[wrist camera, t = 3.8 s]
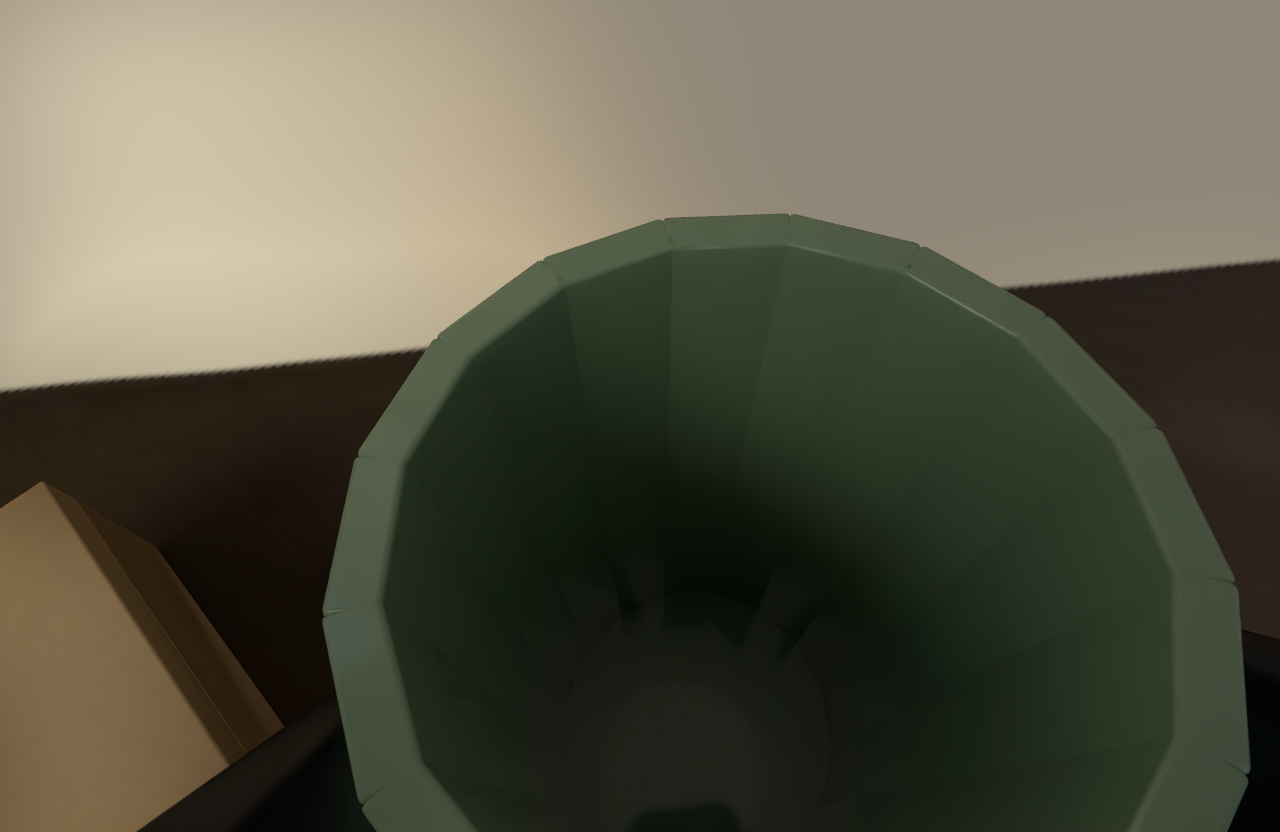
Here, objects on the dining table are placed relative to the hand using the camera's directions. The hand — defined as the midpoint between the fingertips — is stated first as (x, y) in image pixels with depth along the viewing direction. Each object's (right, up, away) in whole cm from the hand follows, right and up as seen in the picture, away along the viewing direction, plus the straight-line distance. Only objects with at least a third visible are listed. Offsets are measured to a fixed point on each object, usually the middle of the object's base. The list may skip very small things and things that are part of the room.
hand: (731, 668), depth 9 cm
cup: (0, -4, +7) cm, 8 cm away
